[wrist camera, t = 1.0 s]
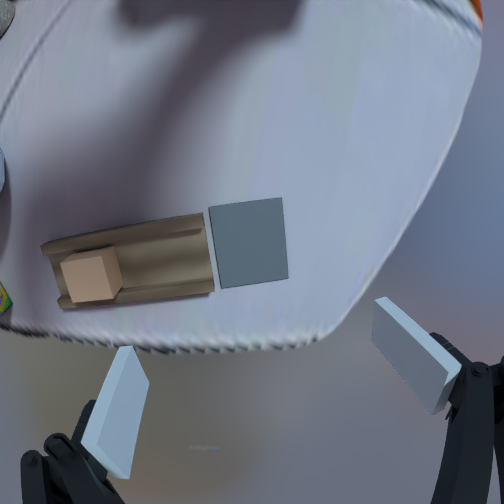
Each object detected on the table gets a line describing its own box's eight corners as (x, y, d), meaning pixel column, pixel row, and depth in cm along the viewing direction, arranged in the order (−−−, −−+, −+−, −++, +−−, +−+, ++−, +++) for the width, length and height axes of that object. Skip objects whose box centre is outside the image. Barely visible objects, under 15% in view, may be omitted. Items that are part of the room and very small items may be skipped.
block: (75, 252, 37) (59, 263, 32) (113, 245, 37) (101, 255, 32) (85, 288, 38) (72, 302, 34) (123, 283, 39) (113, 298, 34)
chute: (48, 241, 36) (40, 245, 34) (202, 212, 38) (201, 215, 36) (66, 302, 40) (60, 308, 37) (214, 284, 42) (214, 291, 39)
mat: (209, 206, 38) (209, 207, 38) (281, 197, 39) (281, 197, 39) (221, 287, 42) (221, 288, 42) (288, 277, 43) (288, 278, 42)
